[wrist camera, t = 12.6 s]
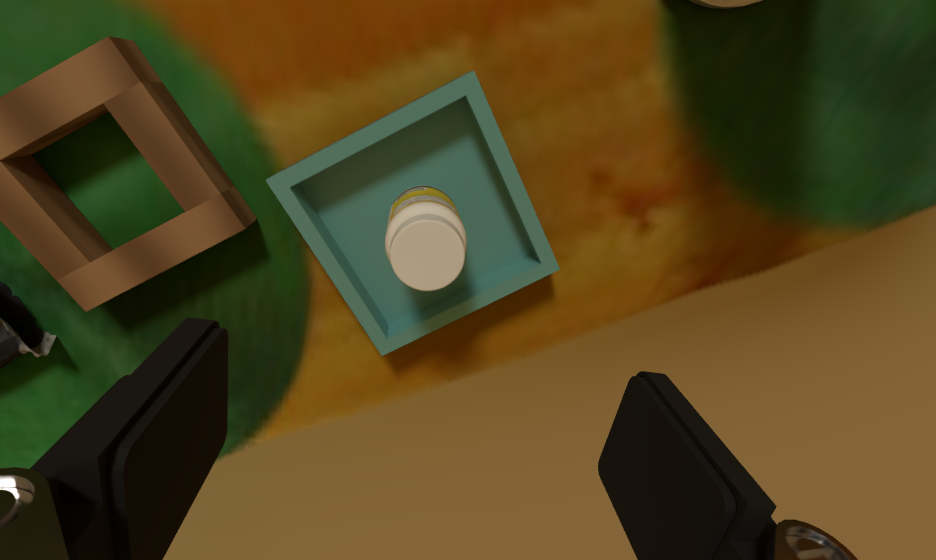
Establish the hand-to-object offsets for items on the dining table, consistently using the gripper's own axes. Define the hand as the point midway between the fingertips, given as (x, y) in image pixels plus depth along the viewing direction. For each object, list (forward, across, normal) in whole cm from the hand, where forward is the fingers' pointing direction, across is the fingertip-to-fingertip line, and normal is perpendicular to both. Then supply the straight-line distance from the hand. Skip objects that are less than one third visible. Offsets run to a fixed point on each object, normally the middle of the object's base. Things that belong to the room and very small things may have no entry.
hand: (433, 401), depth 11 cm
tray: (+24, 0, +2) cm, 24 cm away
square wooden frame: (+23, +19, +3) cm, 30 cm away
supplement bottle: (+23, 0, +2) cm, 23 cm away
